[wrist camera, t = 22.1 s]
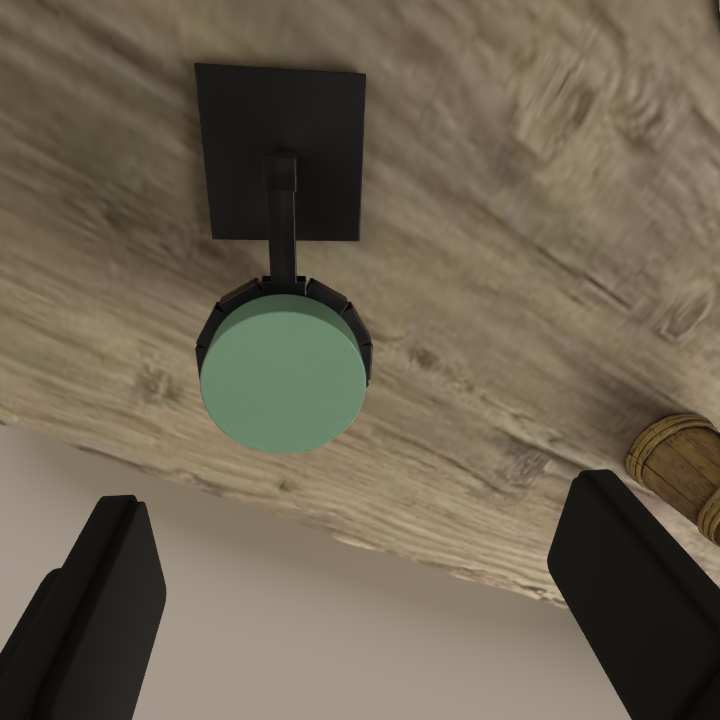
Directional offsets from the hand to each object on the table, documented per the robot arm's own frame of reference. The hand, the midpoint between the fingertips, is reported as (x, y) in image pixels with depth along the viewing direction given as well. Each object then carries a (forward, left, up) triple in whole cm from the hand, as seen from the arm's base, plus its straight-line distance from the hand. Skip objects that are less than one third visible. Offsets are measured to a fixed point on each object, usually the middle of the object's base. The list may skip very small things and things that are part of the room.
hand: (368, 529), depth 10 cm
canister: (+2, +3, -23) cm, 23 cm away
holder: (+2, -2, -25) cm, 26 cm away
